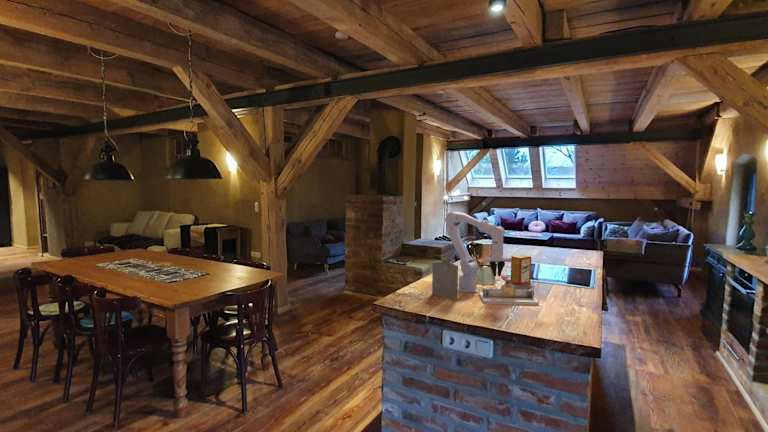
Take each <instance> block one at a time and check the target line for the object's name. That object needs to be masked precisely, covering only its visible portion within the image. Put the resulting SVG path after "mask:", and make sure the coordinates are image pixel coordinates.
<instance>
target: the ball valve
mask: <svg viewBox="0 0 768 432" xmlns="http://www.w3.org/2000/svg"><path fill="white" fill-rule="evenodd" d="M482 292H483V296H484V297H519V298H531V299H534V298H535V291H534V288H529V289H525V288H524V289H523V288H522V289H519V288H516V285H513V283H510V284H508V283H506V282H504V284H501V286H500V288H487V287H486V286H483V287H482Z"/></svg>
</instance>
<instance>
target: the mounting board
mask: <svg viewBox="0 0 768 432" xmlns="http://www.w3.org/2000/svg"><path fill="white" fill-rule="evenodd" d="M478 294H479V295H478V296H479V298H480V299H481V302H482V303H483V304H484V305H485V304H486V305H487V304H489V305H515V306H516V305H517V306H518V305H520V306H522V305H524V306H539V305H540V304H539V303H540V302H539V301H538V300H537V299H536V298H535V297H534V299H531V298H519V297H484V296H483V291H482V292H481V291H480V292H479V291H478Z"/></svg>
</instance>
